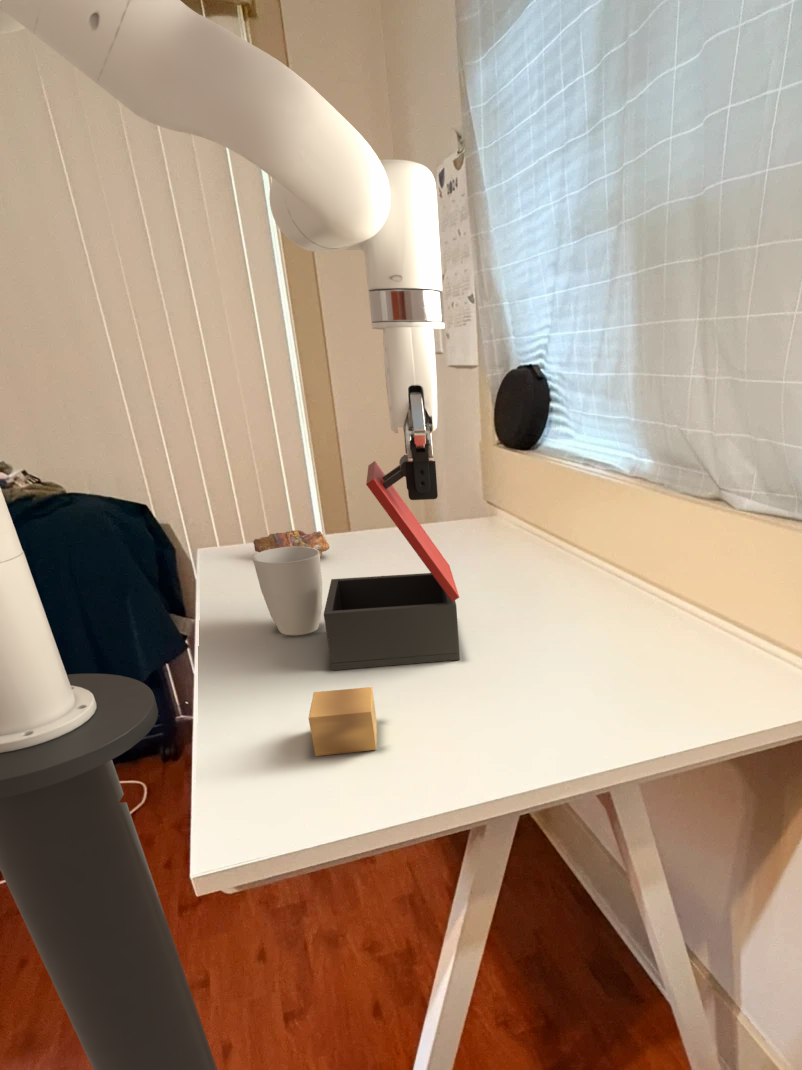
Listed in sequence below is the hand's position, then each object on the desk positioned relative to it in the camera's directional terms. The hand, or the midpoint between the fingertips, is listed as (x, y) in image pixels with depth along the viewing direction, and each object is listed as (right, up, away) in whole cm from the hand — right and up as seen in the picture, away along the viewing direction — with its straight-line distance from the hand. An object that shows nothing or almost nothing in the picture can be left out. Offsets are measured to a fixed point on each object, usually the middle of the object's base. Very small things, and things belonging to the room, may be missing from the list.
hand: (421, 492), depth 81 cm
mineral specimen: (-30, +2, +44) cm, 53 cm away
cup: (-19, -14, +13) cm, 27 cm away
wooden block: (-5, -28, -14) cm, 32 cm away
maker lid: (-2, -4, +2) cm, 5 cm away
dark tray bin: (-5, -17, +8) cm, 19 cm away
